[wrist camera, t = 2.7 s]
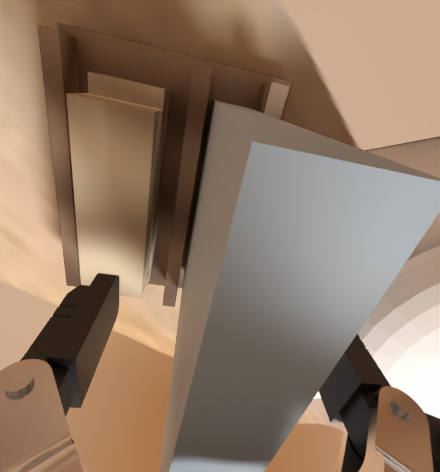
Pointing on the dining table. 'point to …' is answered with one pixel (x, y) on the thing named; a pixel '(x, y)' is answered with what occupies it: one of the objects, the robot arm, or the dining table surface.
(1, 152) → the dining table surface
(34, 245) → the dining table surface
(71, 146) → the offcut upper
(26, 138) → the dining table surface
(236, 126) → the grey board
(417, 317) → the butter dish
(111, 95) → the offcut lower
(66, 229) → the walnut rack
